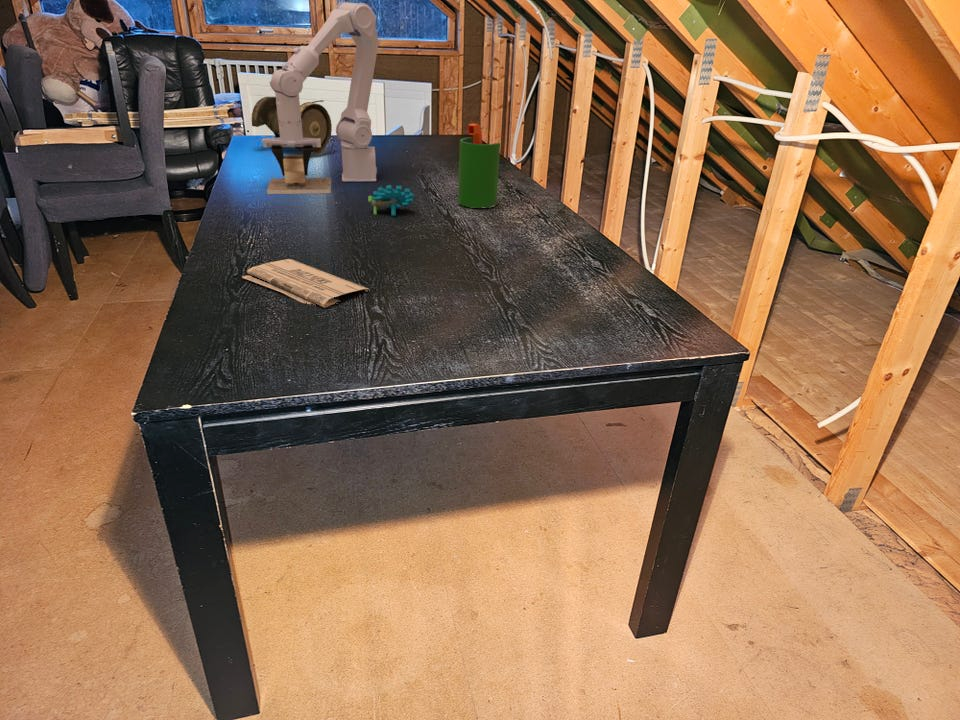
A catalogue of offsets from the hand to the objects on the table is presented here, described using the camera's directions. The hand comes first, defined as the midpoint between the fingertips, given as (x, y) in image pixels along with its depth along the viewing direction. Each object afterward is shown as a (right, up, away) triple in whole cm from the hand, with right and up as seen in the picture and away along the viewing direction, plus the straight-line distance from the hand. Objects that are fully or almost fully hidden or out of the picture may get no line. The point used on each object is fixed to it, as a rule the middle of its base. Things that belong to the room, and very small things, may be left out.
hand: (295, 174), depth 174 cm
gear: (+28, -14, -14) cm, 34 cm away
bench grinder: (-9, +18, +39) cm, 44 cm away
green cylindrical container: (+48, -9, -5) cm, 50 cm away
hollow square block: (0, -1, +1) cm, 1 cm away
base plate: (+1, -3, +2) cm, 4 cm away
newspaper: (+17, -36, -54) cm, 67 cm away
